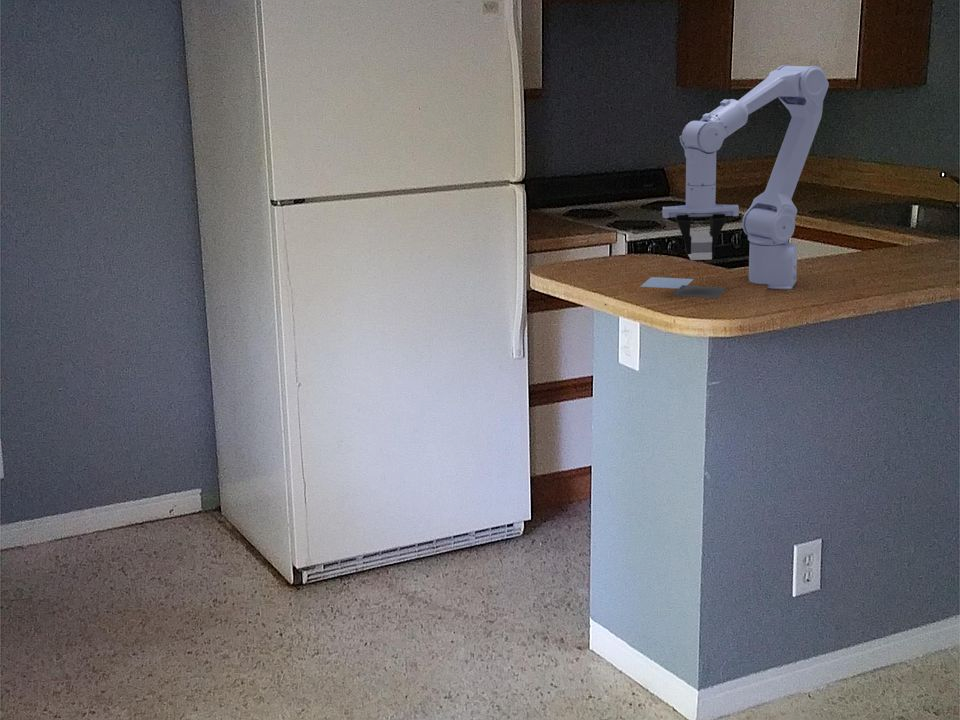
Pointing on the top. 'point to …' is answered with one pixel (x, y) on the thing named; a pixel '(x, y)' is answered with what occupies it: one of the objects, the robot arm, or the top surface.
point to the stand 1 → (666, 282)
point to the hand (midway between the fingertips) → (699, 253)
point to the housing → (700, 245)
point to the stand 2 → (699, 291)
